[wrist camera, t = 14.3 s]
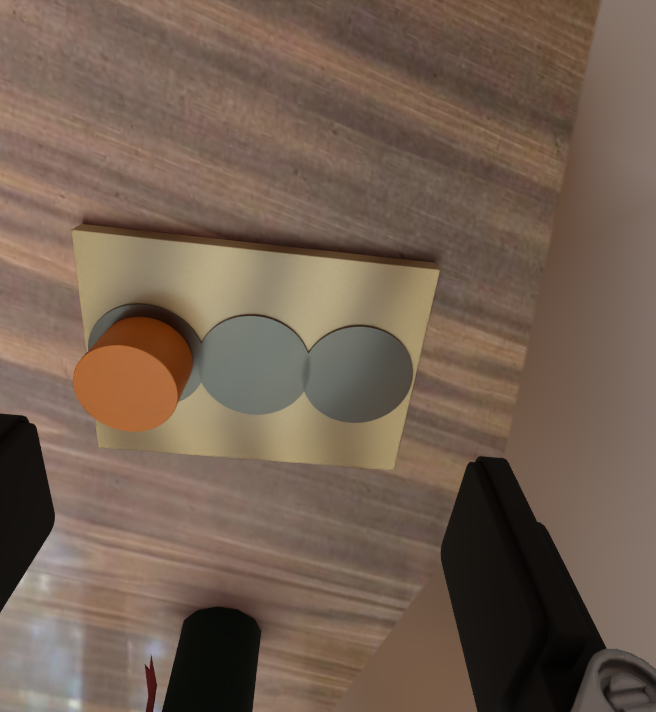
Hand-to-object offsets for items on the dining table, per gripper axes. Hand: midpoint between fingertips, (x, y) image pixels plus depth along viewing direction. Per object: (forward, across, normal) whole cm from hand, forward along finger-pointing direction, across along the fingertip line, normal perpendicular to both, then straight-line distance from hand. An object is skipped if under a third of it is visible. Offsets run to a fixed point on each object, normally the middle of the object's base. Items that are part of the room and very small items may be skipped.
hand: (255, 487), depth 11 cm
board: (+22, +2, +9) cm, 24 cm away
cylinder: (+20, +9, +9) cm, 24 cm away
